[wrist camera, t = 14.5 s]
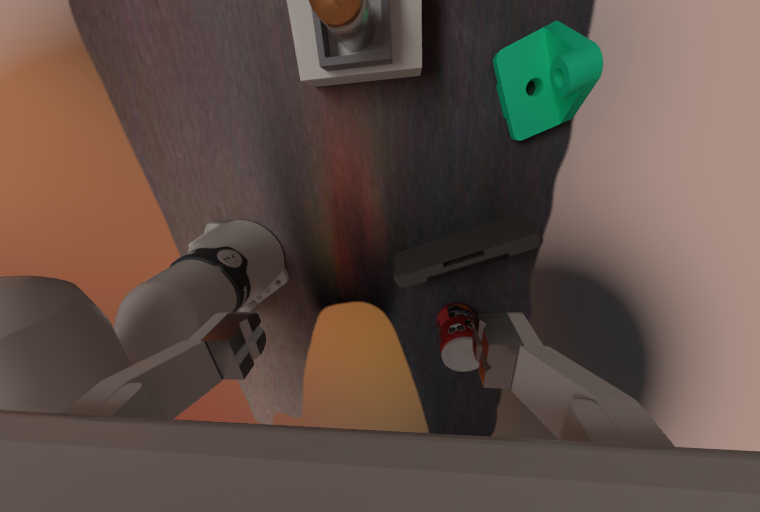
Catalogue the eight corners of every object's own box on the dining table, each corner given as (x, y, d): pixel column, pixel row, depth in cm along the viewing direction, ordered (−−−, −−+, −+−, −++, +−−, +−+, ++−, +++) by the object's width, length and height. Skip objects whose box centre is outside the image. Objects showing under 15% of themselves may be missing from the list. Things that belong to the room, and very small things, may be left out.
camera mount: (489, 57, 37) (515, 34, 28) (547, 27, 35) (595, -8, 26) (509, 142, 42) (538, 146, 32) (562, 119, 40) (608, 116, 30)
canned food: (481, 311, 56) (497, 351, 46) (459, 336, 59) (469, 378, 49) (450, 295, 55) (459, 332, 45) (429, 321, 58) (433, 361, 48)
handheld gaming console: (400, 264, 53) (398, 292, 44) (394, 252, 52) (392, 279, 43) (521, 225, 47) (547, 247, 38) (518, 211, 46) (544, 231, 37)
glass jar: (367, 58, 34) (351, 33, 25) (330, 41, 33) (300, 10, 24) (381, 9, 31) (369, -38, 23) (341, -9, 31) (313, -64, 22)
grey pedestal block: (419, -16, 35) (422, -60, 27) (420, 75, 39) (423, 62, 31) (301, 1, 37) (271, -35, 29) (314, 87, 41) (291, 76, 33)
